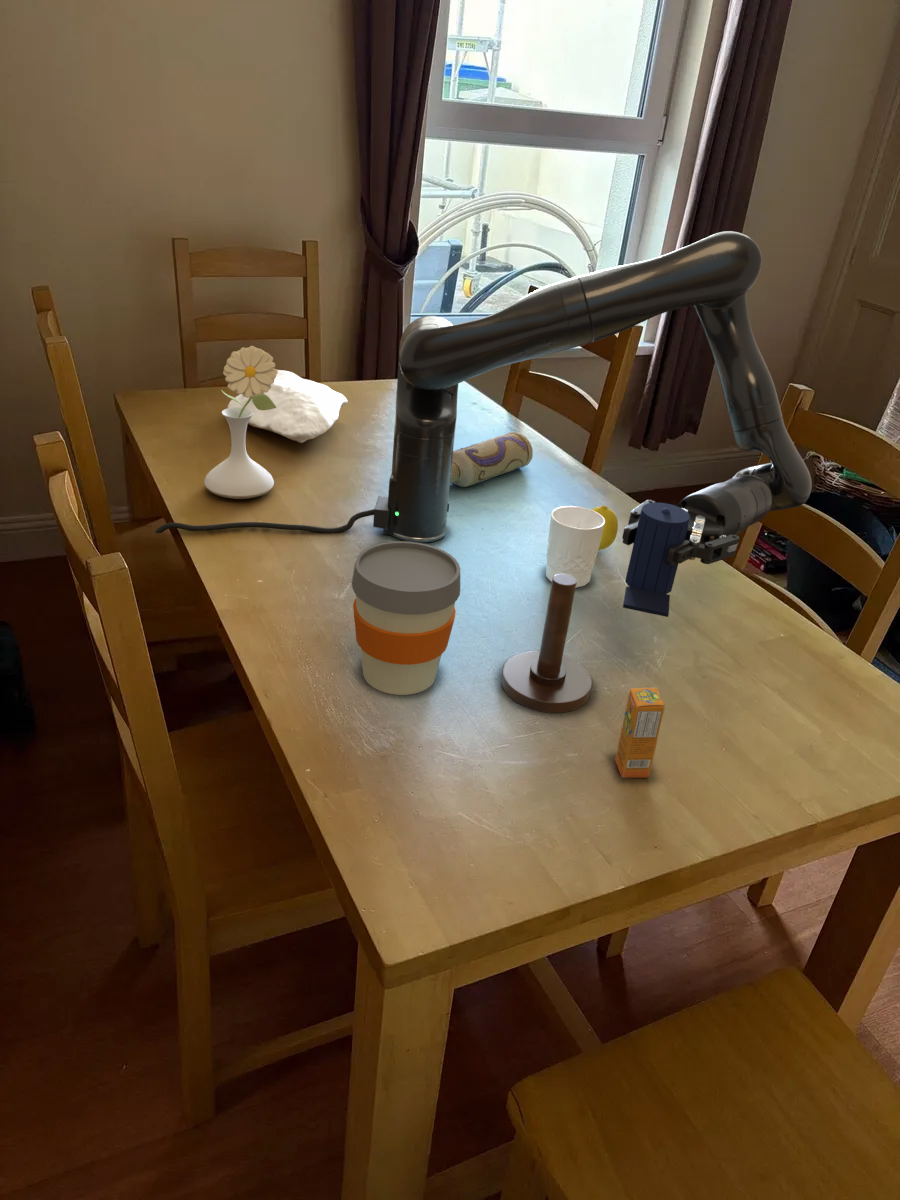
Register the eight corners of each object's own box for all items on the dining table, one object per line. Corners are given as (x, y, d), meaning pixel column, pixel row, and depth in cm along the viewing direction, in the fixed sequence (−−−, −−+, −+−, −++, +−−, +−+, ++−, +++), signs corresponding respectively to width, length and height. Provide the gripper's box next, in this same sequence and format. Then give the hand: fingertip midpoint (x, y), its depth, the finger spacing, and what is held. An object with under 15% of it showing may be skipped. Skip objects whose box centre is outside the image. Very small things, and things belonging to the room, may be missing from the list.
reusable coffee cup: (413, 718, 101) (423, 605, 94) (326, 677, 107) (329, 567, 99) (469, 669, 111) (482, 563, 103) (387, 633, 116) (394, 530, 109)
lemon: (611, 561, 140) (621, 515, 136) (577, 555, 141) (585, 509, 137) (613, 546, 145) (622, 501, 141) (579, 541, 146) (587, 496, 142)
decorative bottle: (502, 458, 175) (506, 426, 171) (531, 471, 170) (536, 438, 167) (407, 488, 158) (410, 453, 154) (438, 503, 153) (441, 467, 150)
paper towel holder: (500, 707, 105) (516, 597, 97) (501, 655, 114) (517, 552, 107) (593, 718, 105) (616, 609, 97) (587, 665, 114) (608, 562, 107)
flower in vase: (190, 495, 147) (182, 343, 135) (230, 472, 156) (225, 328, 144) (258, 513, 143) (256, 359, 131) (295, 490, 153) (296, 343, 140)
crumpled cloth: (322, 389, 197) (316, 349, 192) (384, 444, 171) (380, 399, 165) (218, 412, 189) (209, 370, 184) (266, 473, 162) (258, 426, 157)
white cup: (597, 572, 137) (609, 513, 132) (587, 595, 130) (599, 533, 125) (548, 560, 139) (558, 501, 134) (535, 582, 132) (545, 521, 127)
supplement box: (611, 758, 99) (628, 685, 94) (641, 759, 99) (660, 686, 94) (618, 779, 96) (637, 704, 91) (649, 779, 96) (669, 705, 91)
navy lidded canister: (627, 569, 116) (644, 495, 110) (672, 578, 115) (691, 503, 109) (620, 607, 107) (638, 528, 102) (669, 617, 106) (690, 538, 101)
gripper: (676, 469, 121) (605, 498, 110) (773, 507, 113) (707, 541, 102) (664, 519, 125) (594, 551, 114) (757, 559, 117) (691, 598, 106)
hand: (648, 547), depth 108 cm, fingers closed on navy lidded canister, 5 cm apart
